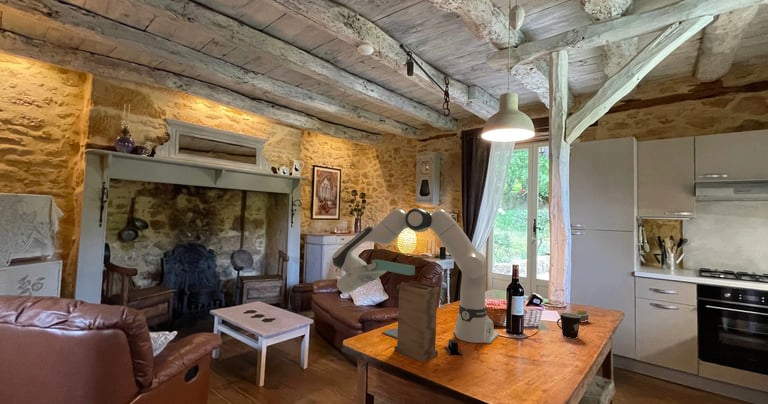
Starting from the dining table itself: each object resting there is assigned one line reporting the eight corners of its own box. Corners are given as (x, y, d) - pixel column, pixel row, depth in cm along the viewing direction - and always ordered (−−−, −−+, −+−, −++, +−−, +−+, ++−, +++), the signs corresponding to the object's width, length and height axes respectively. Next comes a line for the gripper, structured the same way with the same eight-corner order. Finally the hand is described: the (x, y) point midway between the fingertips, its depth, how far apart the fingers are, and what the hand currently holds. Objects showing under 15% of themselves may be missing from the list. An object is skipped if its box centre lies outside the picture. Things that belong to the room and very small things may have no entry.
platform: (561, 321, 193) (561, 309, 193) (582, 318, 201) (582, 306, 201) (581, 327, 182) (582, 315, 182) (602, 324, 190) (603, 312, 190)
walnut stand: (410, 345, 147) (412, 279, 148) (437, 355, 137) (439, 285, 138) (394, 351, 139) (396, 282, 141) (422, 362, 130) (424, 288, 131)
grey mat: (395, 329, 167) (395, 327, 167) (432, 342, 151) (432, 340, 152) (382, 333, 160) (382, 331, 160) (419, 347, 145) (419, 345, 145)
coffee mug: (575, 333, 171) (575, 313, 171) (583, 339, 162) (583, 318, 162) (550, 332, 172) (551, 311, 172) (557, 338, 163) (558, 316, 164)
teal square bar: (376, 267, 158) (377, 259, 158) (414, 274, 143) (415, 266, 143) (371, 267, 156) (371, 259, 156) (409, 275, 140) (409, 266, 141)
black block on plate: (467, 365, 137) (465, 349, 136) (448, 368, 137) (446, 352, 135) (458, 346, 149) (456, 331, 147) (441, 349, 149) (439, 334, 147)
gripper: (342, 270, 156) (361, 258, 148) (374, 267, 171) (393, 255, 163) (346, 284, 154) (365, 272, 146) (378, 279, 169) (397, 268, 160)
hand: (380, 263), depth 154 cm, fingers closed on teal square bar, 3 cm apart
